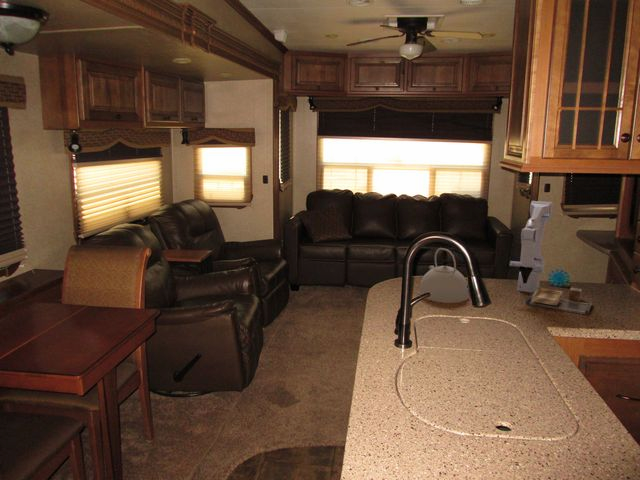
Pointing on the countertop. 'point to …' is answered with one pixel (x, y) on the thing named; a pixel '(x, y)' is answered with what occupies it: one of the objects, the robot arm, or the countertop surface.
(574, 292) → the part block
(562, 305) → the rail base
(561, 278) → the gear
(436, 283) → the kettle
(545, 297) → the shallow wooden tray
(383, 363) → the countertop surface
